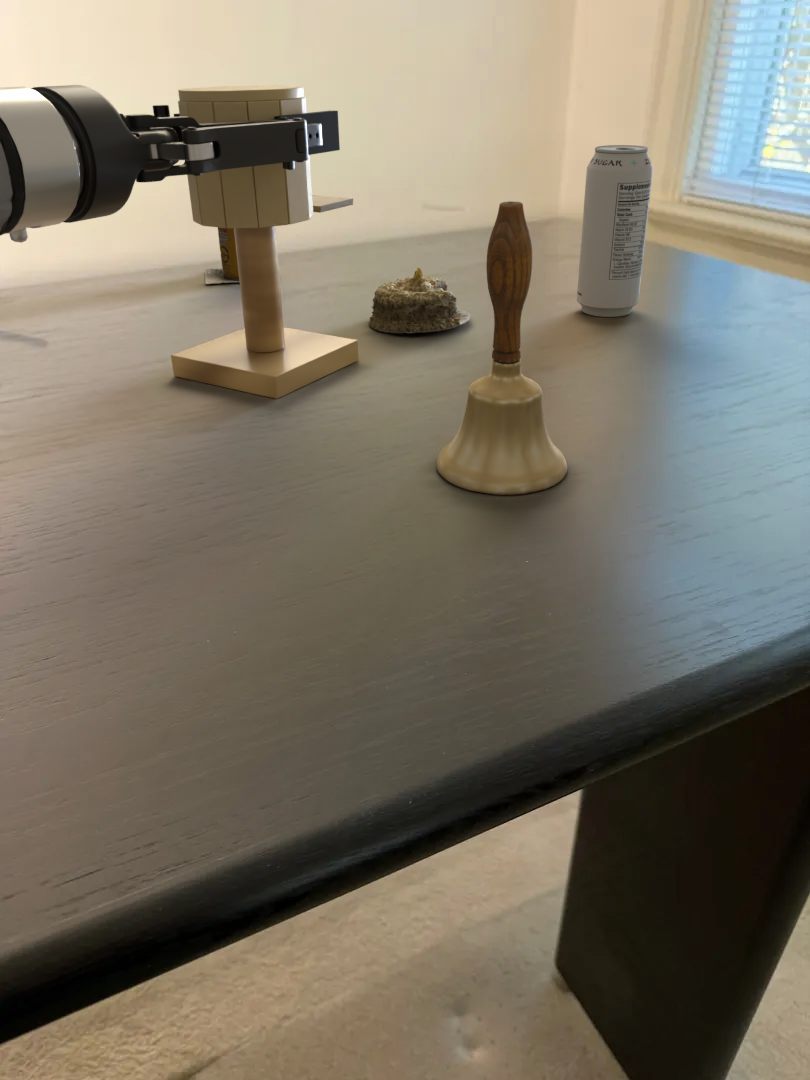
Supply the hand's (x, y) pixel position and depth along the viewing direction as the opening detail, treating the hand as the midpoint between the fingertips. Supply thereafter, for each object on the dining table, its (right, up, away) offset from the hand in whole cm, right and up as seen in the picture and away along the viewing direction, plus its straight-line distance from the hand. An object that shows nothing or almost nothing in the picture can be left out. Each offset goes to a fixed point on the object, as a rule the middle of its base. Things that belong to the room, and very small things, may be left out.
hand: (284, 128), depth 69 cm
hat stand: (-2, -18, +5) cm, 19 cm away
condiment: (-10, -1, +36) cm, 37 cm away
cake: (+11, -11, +17) cm, 23 cm away
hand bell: (+16, -28, -13) cm, 34 cm away
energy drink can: (+30, -9, +20) cm, 37 cm away
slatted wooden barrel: (-1, -6, +1) cm, 6 cm away
